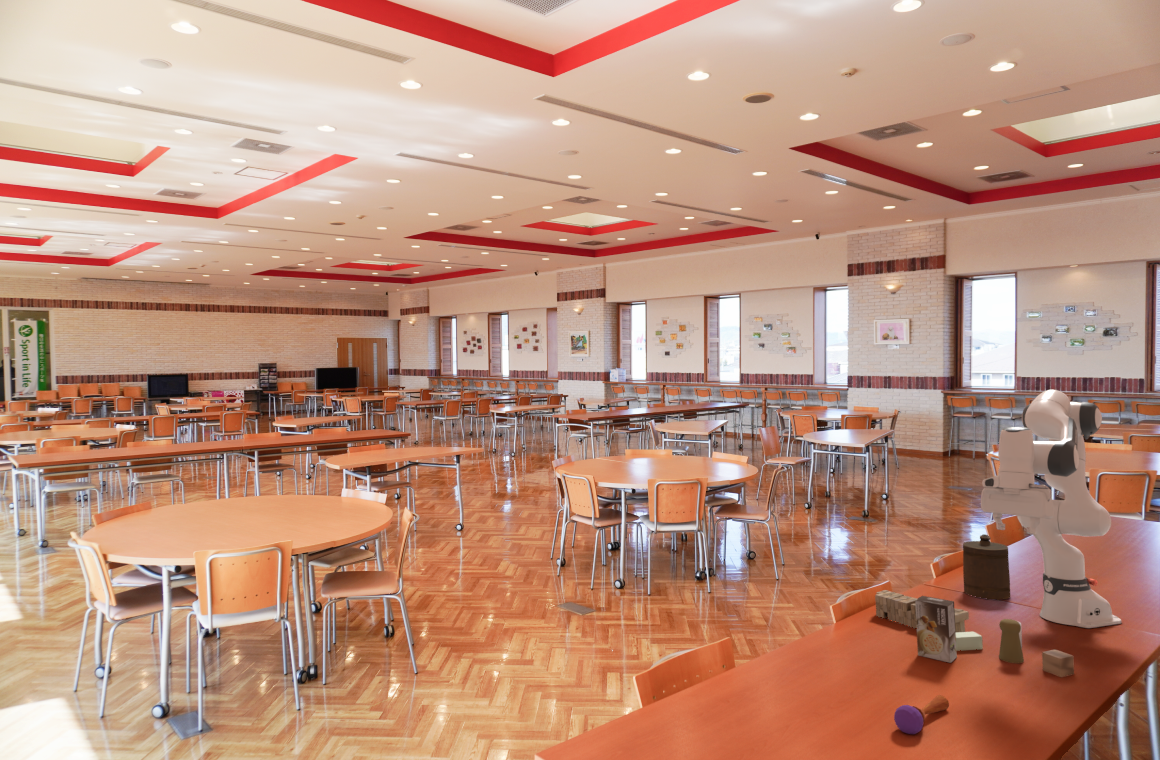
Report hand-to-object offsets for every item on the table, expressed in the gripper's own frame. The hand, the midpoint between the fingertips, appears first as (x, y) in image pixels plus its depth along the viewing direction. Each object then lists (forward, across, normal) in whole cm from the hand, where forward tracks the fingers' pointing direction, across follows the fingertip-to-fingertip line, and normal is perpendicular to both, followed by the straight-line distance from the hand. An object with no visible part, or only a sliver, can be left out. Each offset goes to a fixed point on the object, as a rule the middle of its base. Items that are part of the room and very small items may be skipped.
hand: (1015, 531), depth 195 cm
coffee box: (+38, +13, +14) cm, 43 cm away
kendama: (+44, -16, +48) cm, 67 cm away
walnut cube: (+36, -8, -6) cm, 38 cm away
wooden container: (+27, +50, -48) cm, 75 cm away
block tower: (+35, +35, -1) cm, 49 cm away
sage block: (+36, +15, +2) cm, 39 cm away
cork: (+36, +3, -3) cm, 36 cm away
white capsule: (+34, +10, -12) cm, 38 cm away
